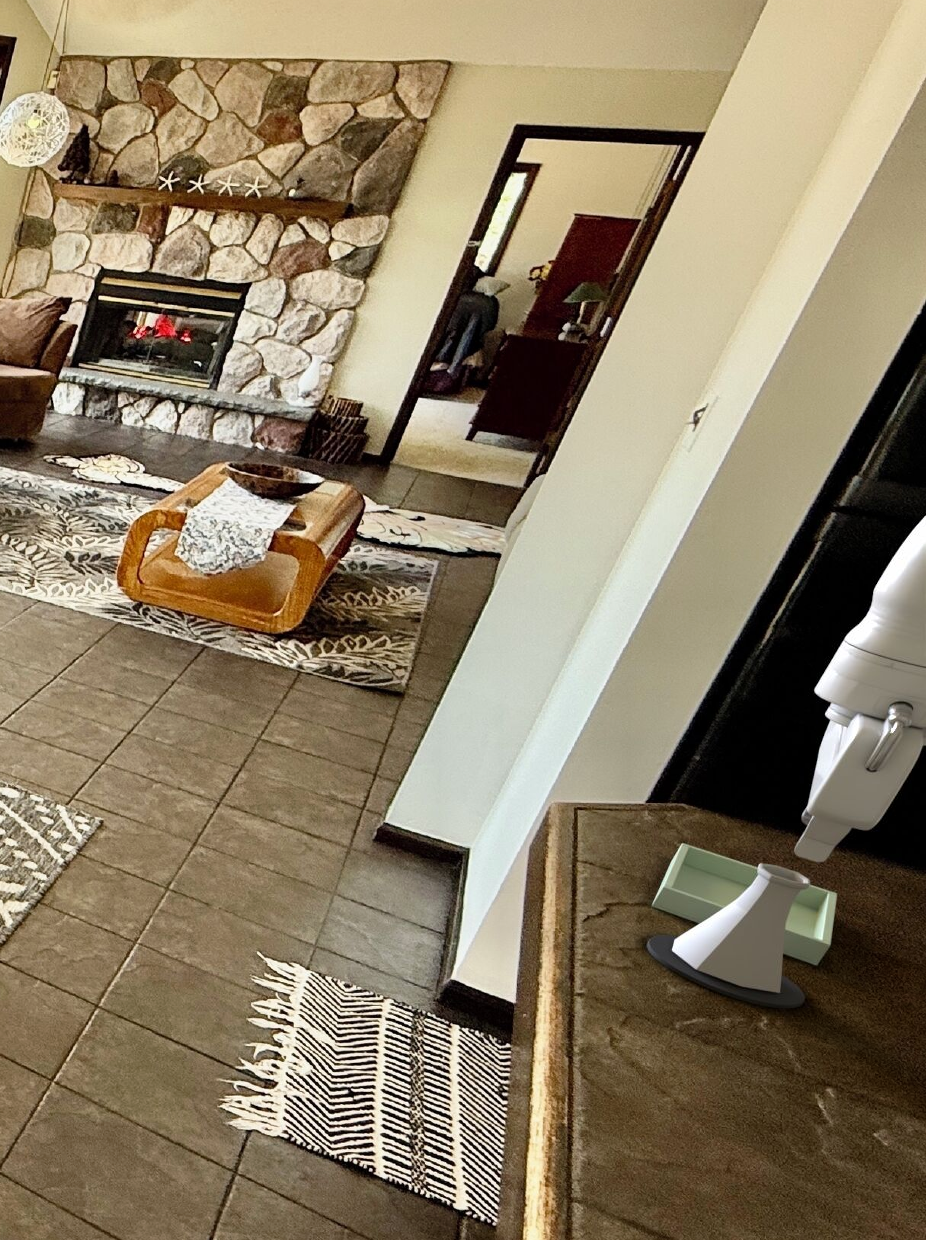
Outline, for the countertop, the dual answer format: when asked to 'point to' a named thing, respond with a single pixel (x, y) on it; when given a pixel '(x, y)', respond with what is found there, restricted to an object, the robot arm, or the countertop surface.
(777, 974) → the flask
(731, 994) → the mat
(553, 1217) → the countertop surface
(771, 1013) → the countertop surface
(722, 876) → the tray
